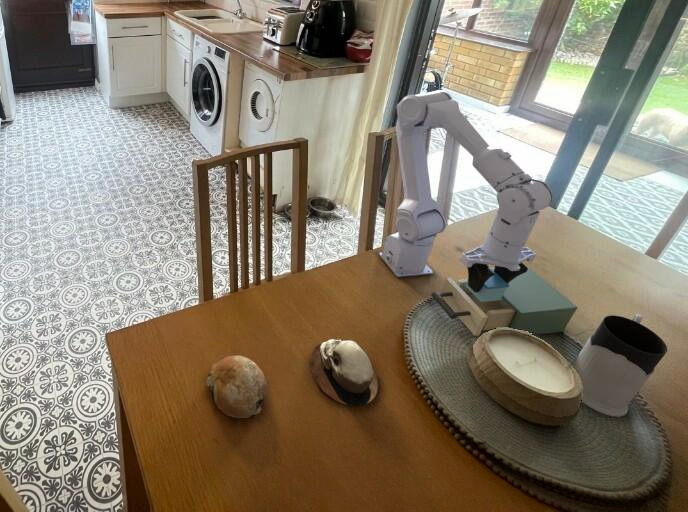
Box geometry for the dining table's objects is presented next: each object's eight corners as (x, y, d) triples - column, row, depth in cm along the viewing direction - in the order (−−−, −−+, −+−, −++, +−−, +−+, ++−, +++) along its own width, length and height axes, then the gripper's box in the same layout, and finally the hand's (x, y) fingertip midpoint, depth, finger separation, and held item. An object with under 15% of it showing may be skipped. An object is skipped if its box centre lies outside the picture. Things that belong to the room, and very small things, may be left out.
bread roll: (239, 439, 70) (262, 426, 65) (193, 394, 72) (211, 378, 68) (260, 390, 78) (282, 374, 73) (218, 350, 80) (236, 333, 75)
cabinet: (508, 337, 84) (521, 313, 81) (466, 293, 94) (476, 269, 91) (563, 331, 85) (578, 307, 82) (515, 288, 96) (526, 265, 93)
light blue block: (481, 303, 83) (488, 287, 81) (463, 284, 88) (469, 269, 86) (502, 300, 84) (509, 285, 82) (483, 282, 88) (490, 267, 86)
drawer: (454, 338, 83) (462, 319, 80) (420, 297, 92) (426, 279, 90) (525, 330, 84) (534, 312, 82) (485, 290, 94) (492, 273, 91)
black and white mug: (556, 385, 75) (592, 329, 68) (577, 344, 83) (611, 290, 76) (622, 427, 69) (668, 369, 62) (638, 378, 76) (681, 322, 70)
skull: (293, 348, 80) (330, 313, 79) (323, 364, 85) (358, 331, 83) (328, 409, 70) (371, 370, 68) (360, 423, 74) (401, 387, 72)
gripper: (489, 253, 75) (467, 306, 81) (560, 247, 76) (532, 299, 82) (461, 228, 81) (442, 279, 87) (526, 223, 83) (503, 273, 89)
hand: (484, 287), depth 85 cm, fingers closed on light blue block, 5 cm apart
